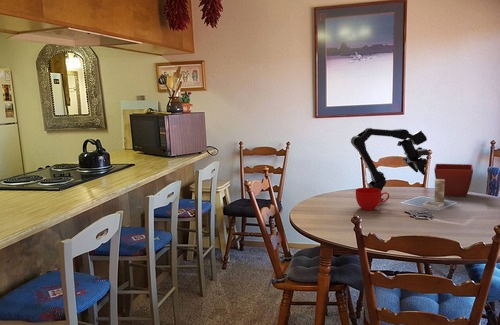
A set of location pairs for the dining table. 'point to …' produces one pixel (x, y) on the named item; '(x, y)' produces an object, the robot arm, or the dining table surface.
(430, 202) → the collar
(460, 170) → the plant pot
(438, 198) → the maple pillar
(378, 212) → the dining table surface
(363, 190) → the ceramic cup
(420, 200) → the board
